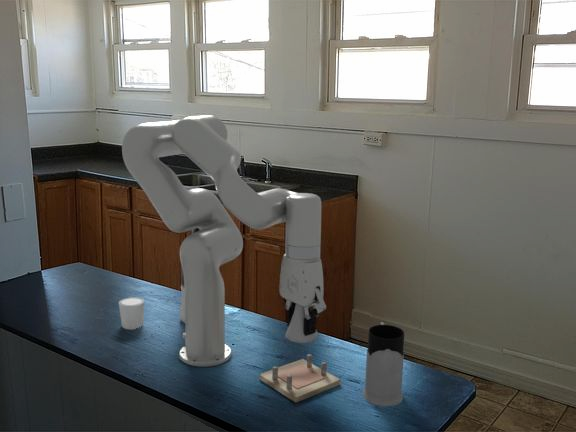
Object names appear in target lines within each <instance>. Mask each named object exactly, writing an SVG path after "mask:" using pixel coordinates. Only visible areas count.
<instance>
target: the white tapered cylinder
mask: <svg viewBox="0 0 576 432" xmlns="http://www.w3.org/2000/svg"><path fill="white" fill-rule="evenodd" d="M145 302H146V301H145V299H144V298H142V297H136V296H134V297H133V296H132V297H126V298H123V299H120V300H119V301H118V306H119V315H120V321H121V327H122V329H125V330H136V328H138V329H140V328H142V327H143V326H144V317H145ZM141 326H142V327H141ZM139 327H140V328H139Z"/></svg>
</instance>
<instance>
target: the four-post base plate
mask: <svg viewBox="0 0 576 432" xmlns="http://www.w3.org/2000/svg"><path fill="white" fill-rule="evenodd" d="M327 365H328V364H327V362H325V361H324V362H321V367H318V366H316V365H315V364H314V363H313V355H312V354H310V353H309V354H307V355H306V359H304V358H300V359H299V360H296V361H293V362H290V363H286V364H284V365H281V366H279V367H278V366H273V367H272V368H271V369H270V370H268V371H265V372H262V373H260V374H258V375H259V376H258V377H259V378H258V379H259V380H260V381H262V382H263V383H265V384H266V385H268V386H270V387H271V388H272V389H274V390H276V391H277V392H279V393H281V394H282V395H283V396H285V397H286V398H288V399H290V400H291V401H293V403H294V402H295V403H298V402H301V401H303V400H306V399H308V398H310V397H313V396H315V395H318V394H320V393H323V392H325V391H327V390H329V389H333V388H336V387H338V386H340V385H341V379H340V378H338V377H337V376H335V375H333V374H331V373H330V372H328V371H327V370H328V369H327V367H328V366H327Z"/></svg>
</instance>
